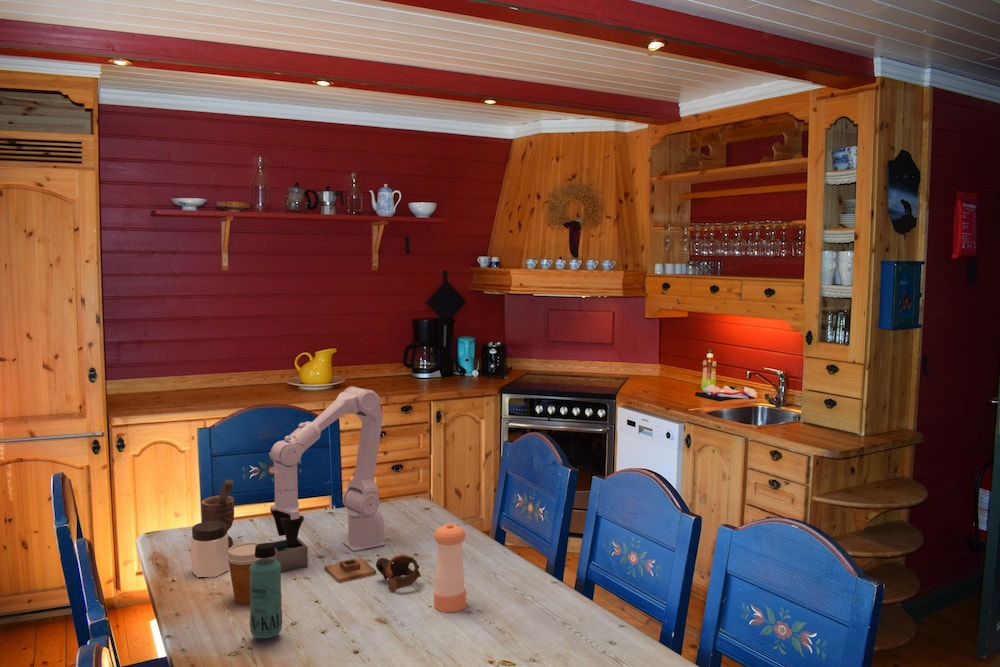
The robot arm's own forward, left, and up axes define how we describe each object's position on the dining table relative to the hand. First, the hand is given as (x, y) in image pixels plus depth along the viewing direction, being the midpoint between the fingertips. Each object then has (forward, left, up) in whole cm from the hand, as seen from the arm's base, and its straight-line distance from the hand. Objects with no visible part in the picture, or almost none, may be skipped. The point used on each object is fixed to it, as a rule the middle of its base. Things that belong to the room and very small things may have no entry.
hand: (287, 539), depth 203 cm
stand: (-12, +13, -7) cm, 19 cm away
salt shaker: (-24, +44, -7) cm, 51 cm away
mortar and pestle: (+11, -23, -7) cm, 26 cm away
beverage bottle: (+16, +38, -7) cm, 42 cm away
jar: (+18, -6, -7) cm, 20 cm away
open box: (0, 0, -7) cm, 7 cm away
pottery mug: (-19, +26, -7) cm, 33 cm away
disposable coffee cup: (+14, +16, -7) cm, 22 cm away
